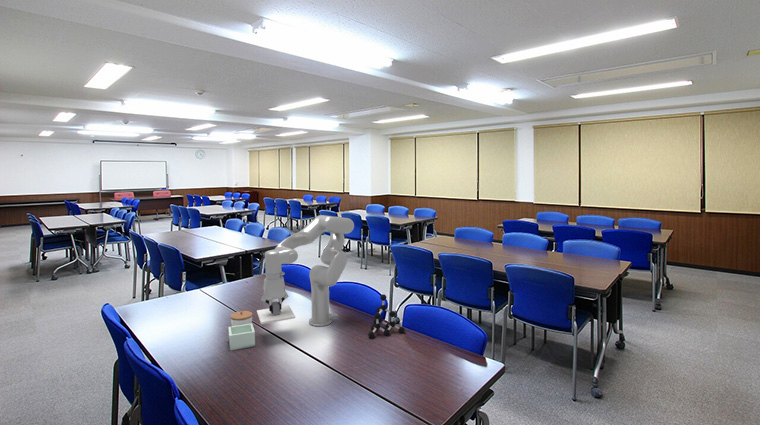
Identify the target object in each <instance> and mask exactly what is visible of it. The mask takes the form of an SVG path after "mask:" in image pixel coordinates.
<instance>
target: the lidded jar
mask: <svg viewBox="0 0 760 425" xmlns="http://www.w3.org/2000/svg"><path fill="white" fill-rule="evenodd" d="M251 323H252V324H253V312H252V311H249V310H241V311H235V312H233V313H232V314H230V324H231V326H238V325H244V324H251Z"/></svg>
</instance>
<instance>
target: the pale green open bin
mask: <svg viewBox="0 0 760 425" xmlns="http://www.w3.org/2000/svg"><path fill="white" fill-rule="evenodd" d="M228 344H229V351H235V350H236V351H237V350H240V349H241V350H242V349H247V348H251V347H256V331H255V328H254V325H253V322H252V323H251V324H244V325H238V326H232V325H231V326H228Z"/></svg>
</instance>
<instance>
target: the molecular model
mask: <svg viewBox="0 0 760 425" xmlns="http://www.w3.org/2000/svg"><path fill="white" fill-rule="evenodd" d="M379 298H380V300H381V301H382V302H381V305H380V306H378V307H377V308H376V313H374V319H373V321H372V322H373V324H372V325H371V326H370V331H369V332H368V334H367V337H368V338H370V339H374V338H375V335H376V334H375V332H377V330H380V331H382V332H383V335H384V336H387V335H388V336H390V334H391V332H390V330H391V329H392V328H395V329H397V330H398V332H400V333H399V334H403V333H405V331H406V330H405V327H404V326H400V327H399V326H398V325H396V322H395V321H394V317H396V314H397V313H396V311H394V310H389V309H387V305H386V304H385V301H386V300H387V295H386V294H385V293H384V294H381V295H380V296H379ZM383 312H387V313H388V314H389V317H391V318H390V319H391V320H390V321H389V322H385V321H383V317H382V316H381V314H382V313H383ZM381 323H382V324H383V325H384V326H385V329H384V328H383V327H381ZM388 336H387V337H388Z"/></svg>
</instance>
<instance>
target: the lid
mask: <svg viewBox="0 0 760 425" xmlns="http://www.w3.org/2000/svg"><path fill="white" fill-rule="evenodd" d="M278 302H279V301H278V300H277V301H276V300H275V301H272V305H273V313H271V311H269V308H263V309H258V310H256V313H257V316H258V319H259V323H260V325H266V324H271V323H276V322H282V321H287V320H293V319H296V315H295V313H294V312H293V310H292V308H291V306H290V305H289V304H288V305H283V306H282V305H281V307H282V309H281V310H280V307H279V303H278ZM280 311H281V312H280Z"/></svg>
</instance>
